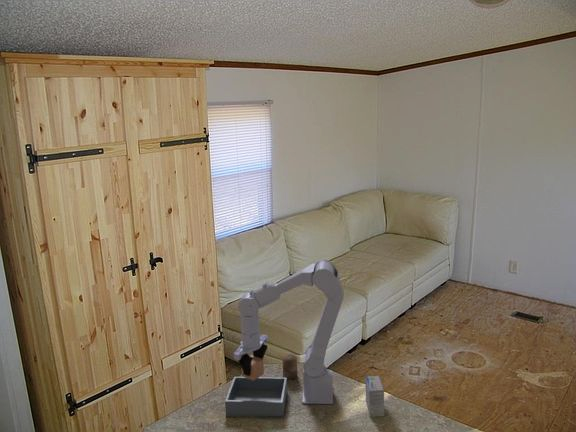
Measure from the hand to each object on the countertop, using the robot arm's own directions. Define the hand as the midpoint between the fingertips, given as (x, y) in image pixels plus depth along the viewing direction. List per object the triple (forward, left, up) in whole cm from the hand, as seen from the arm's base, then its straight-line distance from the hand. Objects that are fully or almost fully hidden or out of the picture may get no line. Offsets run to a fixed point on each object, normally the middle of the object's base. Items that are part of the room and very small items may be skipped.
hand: (252, 370), depth 146 cm
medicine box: (-38, +6, -9) cm, 39 cm away
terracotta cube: (0, 0, -2) cm, 2 cm away
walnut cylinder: (-11, -11, -8) cm, 18 cm away
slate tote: (-2, +5, -8) cm, 10 cm away
